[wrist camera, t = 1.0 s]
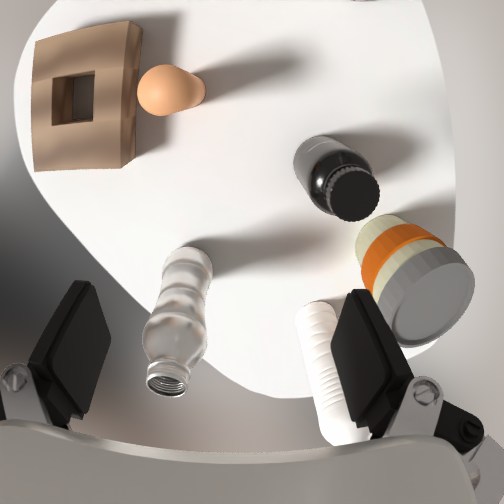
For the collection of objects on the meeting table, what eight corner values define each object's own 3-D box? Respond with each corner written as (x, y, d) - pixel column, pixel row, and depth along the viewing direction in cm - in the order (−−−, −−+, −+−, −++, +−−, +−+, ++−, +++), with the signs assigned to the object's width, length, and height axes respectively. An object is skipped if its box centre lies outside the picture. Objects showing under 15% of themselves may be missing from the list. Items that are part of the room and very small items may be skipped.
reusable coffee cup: (422, 256, 41) (473, 317, 29) (355, 290, 44) (392, 363, 31) (409, 188, 36) (477, 240, 23) (331, 226, 38) (376, 297, 25)
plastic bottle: (156, 259, 39) (115, 380, 22) (191, 230, 37) (162, 353, 20) (188, 288, 42) (169, 411, 24) (224, 263, 40) (220, 391, 23)
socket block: (57, 44, 22) (35, 41, 18) (143, 29, 24) (129, 20, 19) (54, 161, 30) (34, 171, 26) (135, 157, 32) (120, 168, 27)
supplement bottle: (312, 123, 31) (350, 140, 21) (355, 155, 33) (405, 186, 23) (280, 171, 34) (302, 208, 23) (325, 199, 36) (360, 245, 26)
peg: (171, 74, 27) (139, 65, 17) (207, 75, 28) (192, 64, 17) (169, 108, 29) (136, 116, 19) (204, 109, 30) (187, 116, 19)
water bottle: (290, 307, 45) (325, 462, 23) (330, 295, 44) (386, 443, 22) (302, 342, 49) (332, 476, 27) (337, 331, 48) (381, 461, 27)
